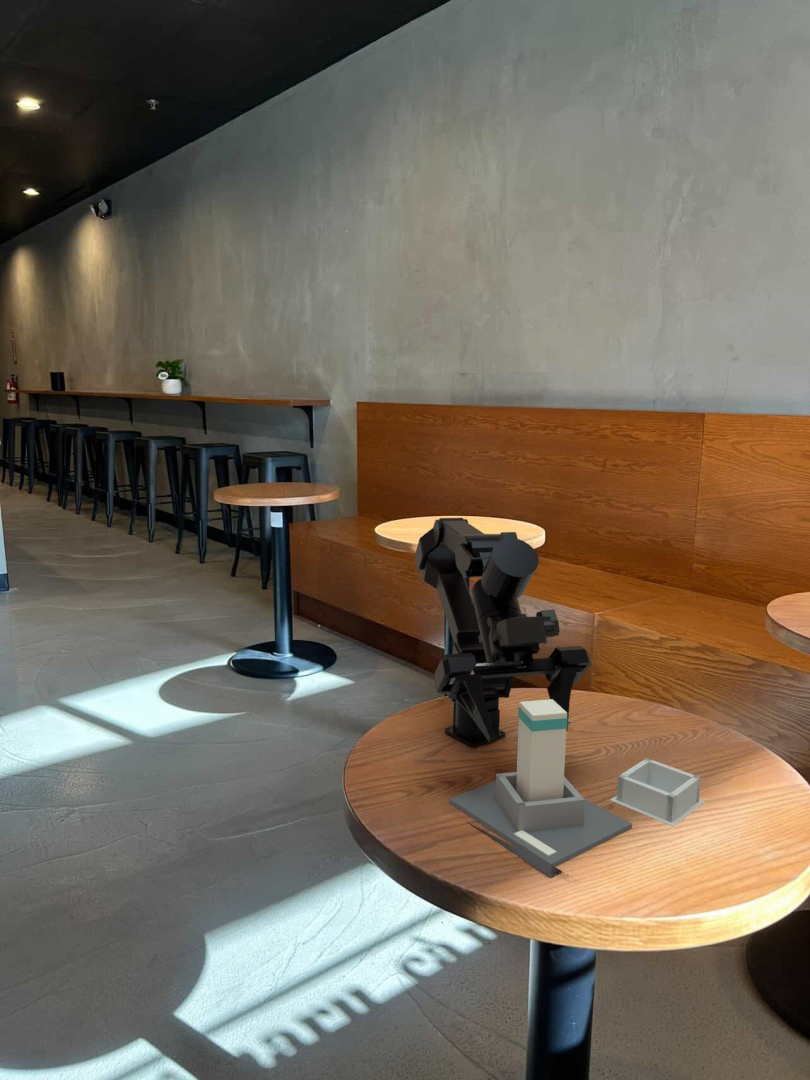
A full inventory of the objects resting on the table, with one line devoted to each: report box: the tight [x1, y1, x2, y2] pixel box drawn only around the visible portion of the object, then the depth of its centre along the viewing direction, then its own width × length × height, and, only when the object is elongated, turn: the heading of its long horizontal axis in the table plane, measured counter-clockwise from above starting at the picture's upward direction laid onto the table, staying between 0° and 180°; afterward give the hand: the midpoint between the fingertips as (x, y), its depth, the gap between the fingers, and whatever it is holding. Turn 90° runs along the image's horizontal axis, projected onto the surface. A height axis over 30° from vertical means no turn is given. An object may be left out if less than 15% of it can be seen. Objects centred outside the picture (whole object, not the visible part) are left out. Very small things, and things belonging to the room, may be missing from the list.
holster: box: [609, 757, 706, 827], centre depth 91 cm, size 8×8×4 cm
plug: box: [516, 698, 569, 802], centre depth 86 cm, size 4×4×12 cm
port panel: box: [448, 771, 633, 878], centre depth 87 cm, size 16×13×4 cm
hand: (528, 736), depth 89 cm, fingers open, 9 cm apart
